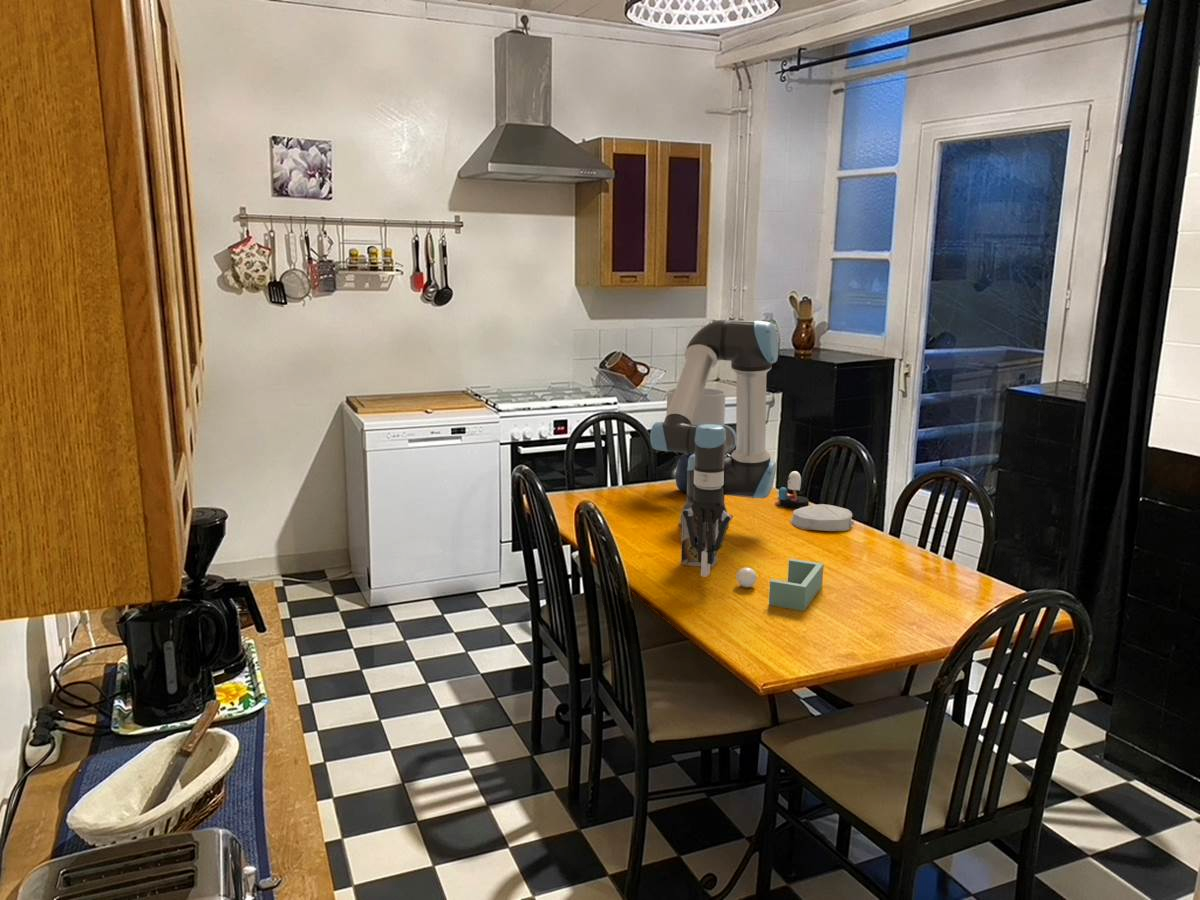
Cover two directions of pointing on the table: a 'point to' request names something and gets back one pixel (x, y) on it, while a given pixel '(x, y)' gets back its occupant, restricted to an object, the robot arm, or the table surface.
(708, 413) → the lamp
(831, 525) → the food container
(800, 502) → the figurine
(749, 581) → the ball
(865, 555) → the table surface
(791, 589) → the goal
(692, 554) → the coffee box
